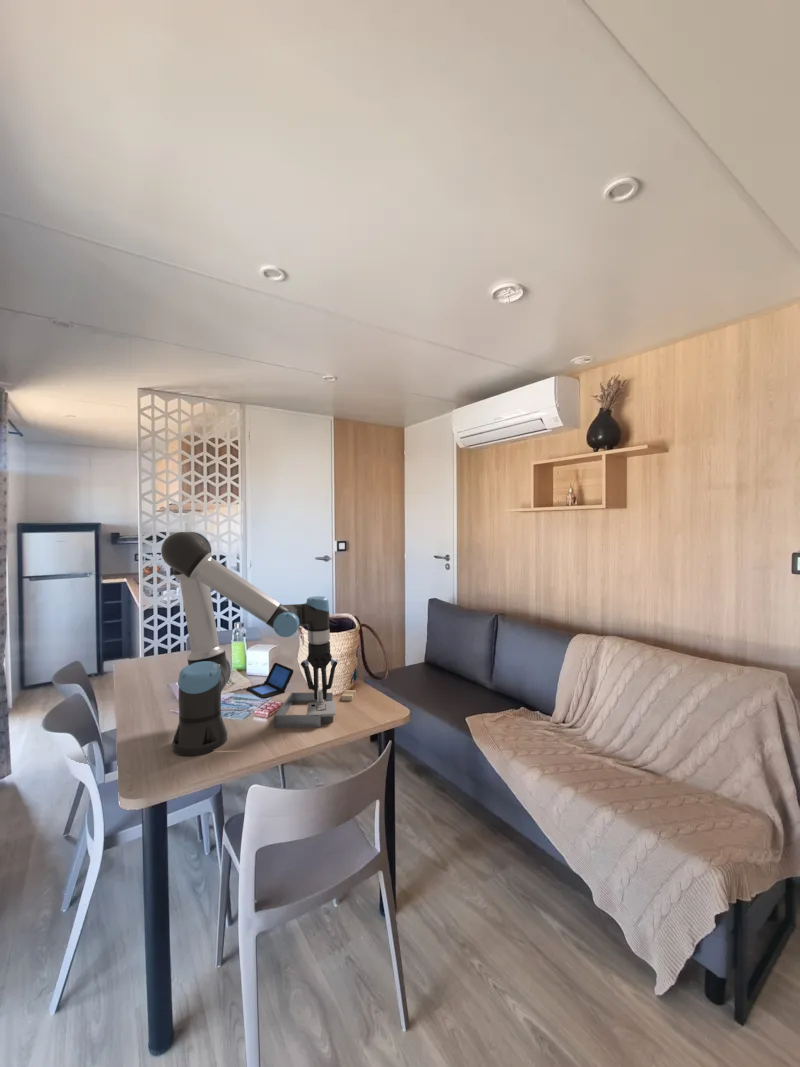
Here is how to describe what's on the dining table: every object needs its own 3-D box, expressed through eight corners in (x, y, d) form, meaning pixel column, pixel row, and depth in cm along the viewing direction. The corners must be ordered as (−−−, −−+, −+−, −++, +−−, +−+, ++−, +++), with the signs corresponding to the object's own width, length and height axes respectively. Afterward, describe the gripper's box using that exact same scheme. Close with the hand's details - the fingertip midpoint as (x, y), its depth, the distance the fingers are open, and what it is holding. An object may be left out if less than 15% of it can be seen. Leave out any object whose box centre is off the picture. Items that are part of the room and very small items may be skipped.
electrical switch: (307, 702, 156) (333, 695, 157) (310, 716, 156) (336, 709, 158) (305, 716, 146) (333, 708, 148) (309, 730, 147) (337, 723, 148)
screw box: (352, 704, 167) (352, 695, 167) (341, 703, 168) (341, 695, 168) (355, 698, 173) (355, 690, 173) (345, 697, 173) (345, 690, 174)
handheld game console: (245, 691, 182) (244, 668, 182) (275, 683, 191) (275, 661, 191) (263, 701, 171) (263, 676, 171) (294, 692, 180) (294, 669, 180)
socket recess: (320, 728, 146) (320, 715, 146) (273, 728, 146) (273, 715, 146) (332, 703, 167) (332, 692, 167) (291, 703, 168) (291, 692, 168)
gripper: (340, 638, 161) (341, 703, 161) (302, 639, 161) (304, 704, 162) (336, 643, 153) (338, 712, 154) (297, 644, 153) (299, 713, 154)
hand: (321, 708), depth 158 cm, fingers closed, pressing on electrical switch
